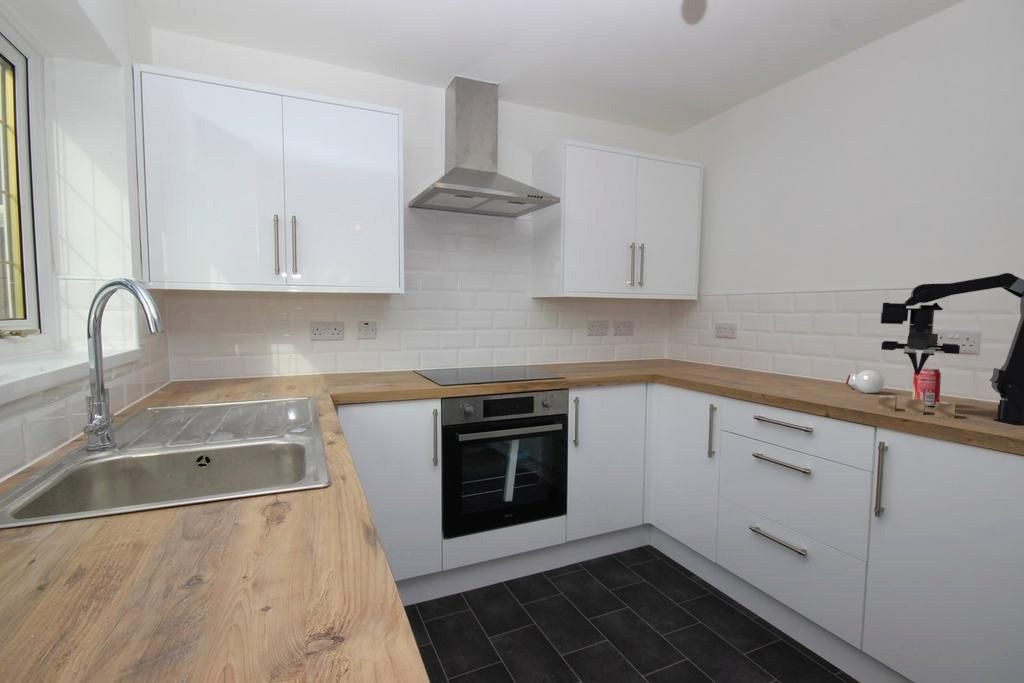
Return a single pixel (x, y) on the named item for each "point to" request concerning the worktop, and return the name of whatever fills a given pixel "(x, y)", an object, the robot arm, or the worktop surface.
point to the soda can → (927, 386)
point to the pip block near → (945, 409)
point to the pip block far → (887, 402)
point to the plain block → (915, 406)
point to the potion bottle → (866, 381)
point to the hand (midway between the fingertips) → (917, 374)
